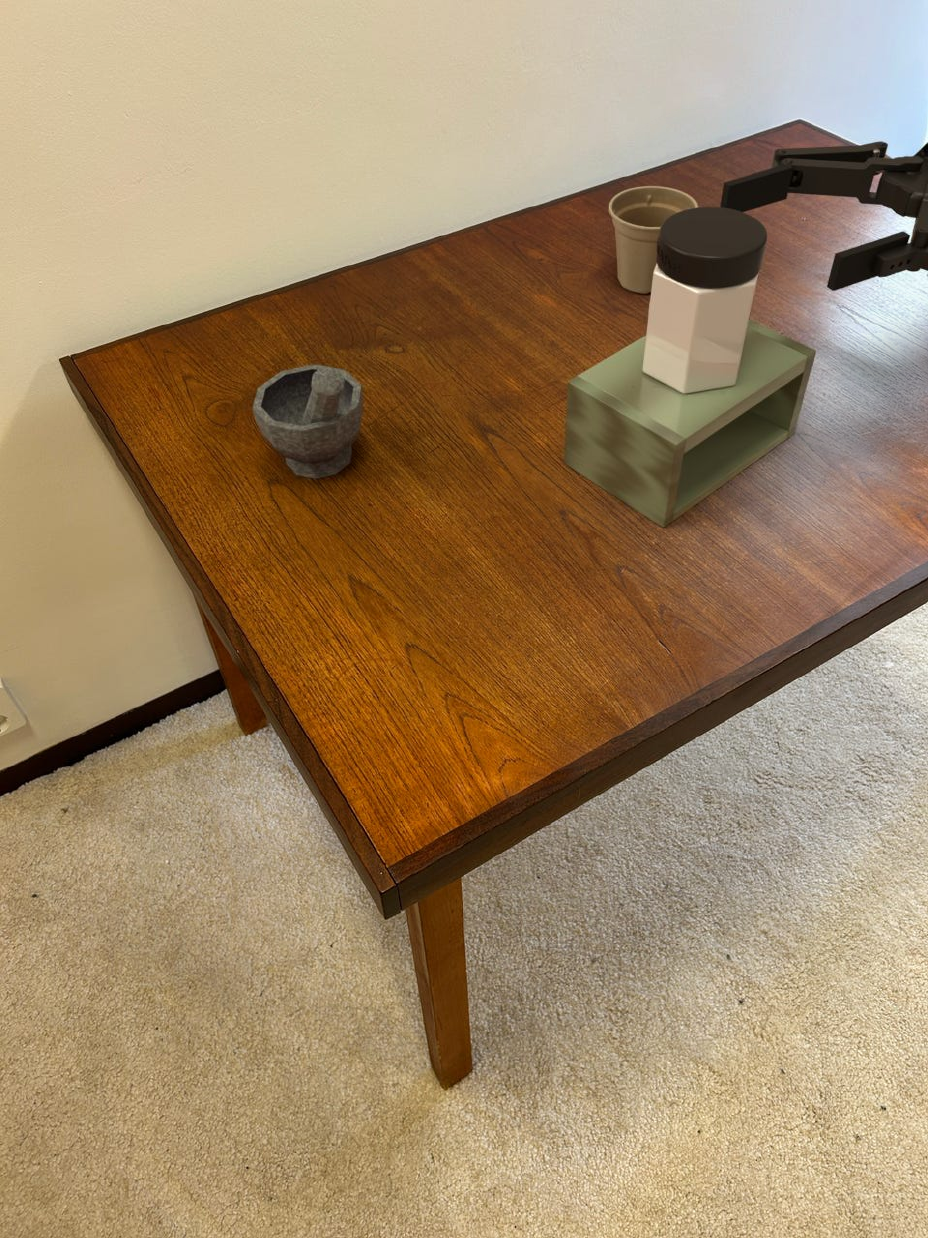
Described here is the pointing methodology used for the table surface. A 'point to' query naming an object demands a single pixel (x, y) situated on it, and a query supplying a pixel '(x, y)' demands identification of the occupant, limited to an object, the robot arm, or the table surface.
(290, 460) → the mortar and pestle
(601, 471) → the olive green cubby
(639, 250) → the flower pot
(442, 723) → the table surface
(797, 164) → the robot arm
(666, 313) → the jar
